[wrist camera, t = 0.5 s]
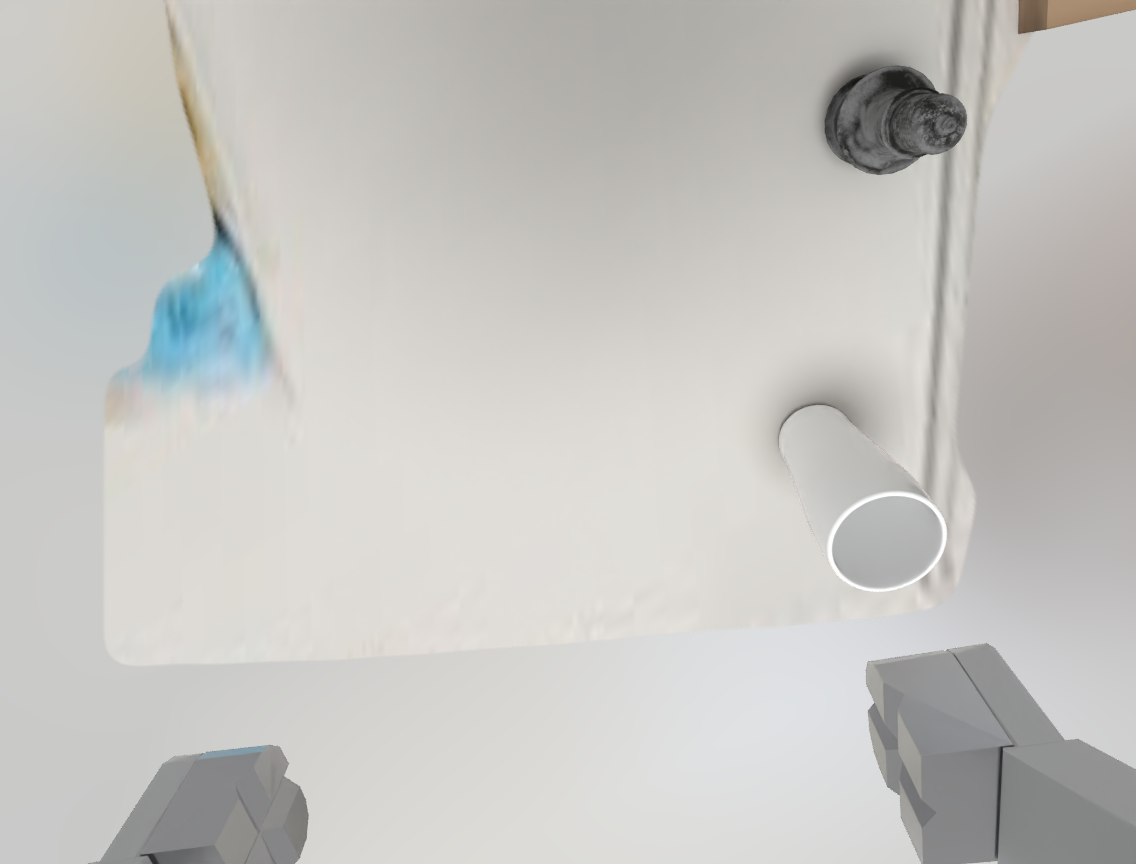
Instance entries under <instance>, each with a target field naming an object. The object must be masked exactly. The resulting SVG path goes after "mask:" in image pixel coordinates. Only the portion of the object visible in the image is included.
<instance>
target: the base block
mask: <svg viewBox="0 0 1136 864" xmlns="http://www.w3.org/2000/svg"><path fill="white" fill-rule="evenodd" d="M1135 9H1136V0H1019V34H1021V33H1027V32H1034V31H1040V30H1046V29H1051V28H1055V27H1059V26H1064V25H1068V24H1073V23H1077V22H1082V21H1086V20H1091V19H1095V18H1100V17H1104V16H1108V15H1113V14H1118V13H1122V12H1126V11H1131V10H1135Z"/></svg>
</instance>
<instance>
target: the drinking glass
mask: <svg viewBox="0 0 1136 864" xmlns="http://www.w3.org/2000/svg"><path fill="white" fill-rule="evenodd" d="M779 449H780V452H781V455H782V457H783V459H784V460H785V462H786V464H787V467H788V469H789V472H790V475H791V478H792V480H793V483H794V486H795V489H796V492H797V495H798V497H799V500H800V503H801V506H802V509H803V512H804V515H805V518H806V520H807V523H808V525H809V528H810V530H811V532H812V535H813V537H814V539H815V541H816V543H817V545H818V546H819V548H820V550H821V552H822V553H823V555H824V557H825V558H826V560H827V561H828V563H829V564H830V566H831V568H832V569H833V571H834V572H835V573H836V575H837V576H838V577H839V578H840V579H841V580H843V581H844V582H845V583H847V584H849V585H851V586H853V587H855V588H858V589H861V590H865V591H873V592H884V591H891V590H896V589H900V588H903V587H905V586H908V585H910V584H912V583H914V582H916V581H917V580H919V579H921V578H922V577H923V576H925V575H926V574H927V573H928V572H929V571H930V570H931V569H932V568H933V567H934V566H935V565H936V563H937V562H938V561H939V559H940V557H941V555H942V553H943V551H944V548H945V545H946V541H947V528H946V523H945V520H944V517H943V515H942V513H941V512H940V510H939V509H938V508H937V506H936V505H935V504H934V502H933V501H932V500H931V498H930V497H929V496H928V494H927V493H926V492H925V490H924V489H923V488H922V487H921V486H920V485H919V483H918V482H917V481H916V480H915V479H914V478H913V477H912V476H911V475H910V474H909V473H908V472H907V471H906V470H905V469H904V468H903V467H902V466H901V465H900V464H898V463H897V462H896V461H895V460H894V459H893V458H891V457H890V456H889V455H888V454H887V453H886V452H884V451H883V450H882V449H881V448H880V447H878V446H877V445H876V444H875V443H874V442H873V441H871V440H870V439H869V438H868V437H867V436H866V435H864V434H863V433H862V432H861V431H860V430H859V429H858V428H856V427H855V426H854V425H853V424H852V423H851V422H850V420H849V419H848V418H847V417H846V416H845V415H844V414H843V413H842V412H840V411H839V410H837V409H835V408H833V407H830V406H826V405H812V406H808V407H804V408H802V409H800V410H798V411H796V412H795V413H793V414H792V415H791V416H790V417H789V418H788V419H787V420H786V422H785V423H784V425H783V426H782V429H781V431H780V435H779Z"/></svg>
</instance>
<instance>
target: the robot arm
mask: <svg viewBox="0 0 1136 864" xmlns="http://www.w3.org/2000/svg"><path fill="white" fill-rule="evenodd" d="M866 684H867V687H868V689H869V691H870V694H871V695H872V698H873V700H874V702H875V703H874V704H873V705H872V706H871V708H870V709H869V710H868V718H869V730H870V735H871V740H872V745H873V749H874V753H875V756H876V759H877V762H878V765H879V768H880V770H881V773H882V775H883V778H884V780H885V782H886V785H887V787H888V788H890V789H891V790H893V791H894V792H896V793H897V794H898V795H900V806H901V807H900V808H901V819H902V821H903V823H904V826H905V828H906V830H907V832H908V835H909V837H910V839H911V841H912V844H913V846H914V848H915V850H916V852H917V855H918V857H919V859H920V861H921V863H922V864H966V863H979V862H991V861H998V864H1136V769H1134V768H1132V767H1130V766H1128V765H1126V764H1124V763H1123V762H1121V761H1119V760H1117V759H1115V758H1113V757H1111V756H1109V755H1107V754H1106V753H1104V752H1102V751H1100V750H1098V749H1096V748H1094V747H1092V746H1090V745H1088V744H1087V743H1085V742H1083V741H1081V740H1079V739H1075V740H1064V738H1063V737H1062V736H1061V734H1060V733H1059V732H1058V731H1057V729H1056V728H1055V726H1054V725H1053V724H1052V723H1051V721H1050V720H1049V719H1048V717H1047V716H1046V715H1045V713H1044V712H1043V711H1042V709H1041V708H1040V707H1039V705H1038V704H1037V703H1036V701H1035V700H1034V699H1033V697H1032V696H1031V695H1030V694H1029V692H1028V691H1027V690H1026V688H1025V687H1024V686H1023V684H1022V683H1021V682H1020V680H1019V679H1018V678H1017V677H1016V675H1015V674H1014V673H1013V671H1012V670H1011V669H1010V667H1009V666H1008V665H1007V663H1006V662H1005V661H1004V660H1003V658H1002V657H1001V655H1000V654H999V653H998V651H997V650H996V649H995V648H994V647H992V646H991V645H989V644H987V643H986V644H979V645H973V646H966V647H960V648H953V649H947V650H946V651H936V652H929V653H922V654H915V655H909V656H902V657H895V658H888V659H882V660H876V661H868V662H867V667H866ZM288 764H289V763H288V761H287V759H286V757H285V756H284V754H283V752H282V750H281V748H280V747H278V746H273V745H265V746H257V747H248V748H240V749H230V750H221V751H212V752H206V753H202V754H193V755H183V756H174V757H172V758H171V759H169V760H168V761H166V762H165V763H164V764H162V766H161V768H160V769H159V771H158V772H157V774H156V775H155V777H154V779H153V780H152V781H151V783H150V784H149V786H148V788H147V789H146V791H145V792H144V794H143V795H142V797H141V798H140V800H139V802H138V803H137V805H136V806H135V808H134V810H133V811H132V812H131V814H130V816H129V817H128V819H127V820H126V822H125V823H124V825H123V826H122V828H121V830H120V831H119V833H118V834H117V836H116V837H115V839H114V840H113V842H112V844H111V845H110V847H109V848H108V850H107V851H106V853H105V854H104V856H103V857H102V859H101V861H100V862H94V863H89V864H295V863H296V862H297V861H298V859H299V858H300V855H301V852H302V850H303V847H304V844H305V841H306V838H307V826H308V811H307V805H306V799H305V797H304V795H303V793H302V790H301V788H300V786H298V785H297V784H295V783H293V782H292V781H291V780H289V779H287V778H286V777H284V775H285V772H286V770H287V767H288Z"/></svg>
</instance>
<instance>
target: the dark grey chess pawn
mask: <svg viewBox="0 0 1136 864" xmlns="http://www.w3.org/2000/svg"><path fill="white" fill-rule="evenodd" d="M966 125H967V115H966V110H965V108H964V106H963V104H962V103H961V102H960V101H959V100H958V99H957V98H955V97H953V96H951V95H949V94H943V93H941V94H939V92H938V91H936V90H935V88H934V86H933V84H932V83H931V82H930V81H929V80H928V79H927V77H926V76H925V75H924V74H923V73H921V72H919V71H917V70H915V69H913V68H910V67H904V66H891V67H883V68H881V69H879V70H876V71H874V72H871V73H869V74H868V75H863V76H860V77H858V78H855V79H853V80H851V81H850V82H849V83H847V84H846V85H845V86H843V87H842V88H841V89H840V90H839V92H838V93H837V94H836V95H835V96H834V98H833V100H832V102H831V104H830V106H829V107H828V111H827V114H826V118H825V134H826V138H827V142H828V144H829V146H830V148H831V149H832V151H833V152H834V153H835V154H836V155H837V156H838V157H839V158H840V159H842V160H844V161H846V162H848V163H850V164H852V165H853V166H854V167H855V168H858V169H860V170H862V171H864V172H866V173H871V174H877V175H882V174H890V173H894V172H897V171H900V170H902V169H905V168H906V167H908V166H909V165H911V164H912V163H914V162H915V161H917V160H918V159H919V158H920V157H922V156H924V155H926V154H930V155H934V154H940V153H942V152H945V151H948V150H949V149H951V148H952V147H954V146H955V145H956V144H957V143H958V142H959V140H960V139H961V137H962V136H963V134H964V132H965V128H966Z"/></svg>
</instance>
